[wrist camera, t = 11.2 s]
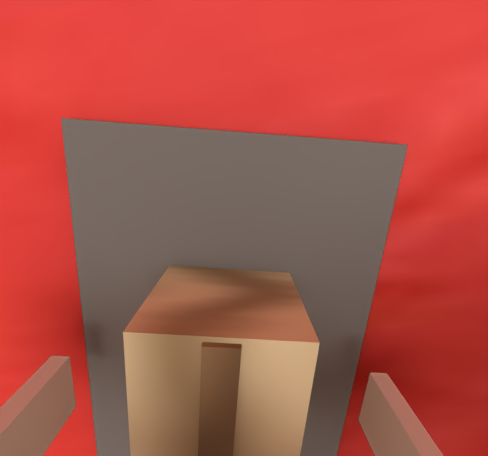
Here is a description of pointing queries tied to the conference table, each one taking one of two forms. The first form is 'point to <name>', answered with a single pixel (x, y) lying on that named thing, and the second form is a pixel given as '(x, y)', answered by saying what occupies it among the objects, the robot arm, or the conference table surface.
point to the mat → (227, 241)
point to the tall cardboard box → (219, 365)
